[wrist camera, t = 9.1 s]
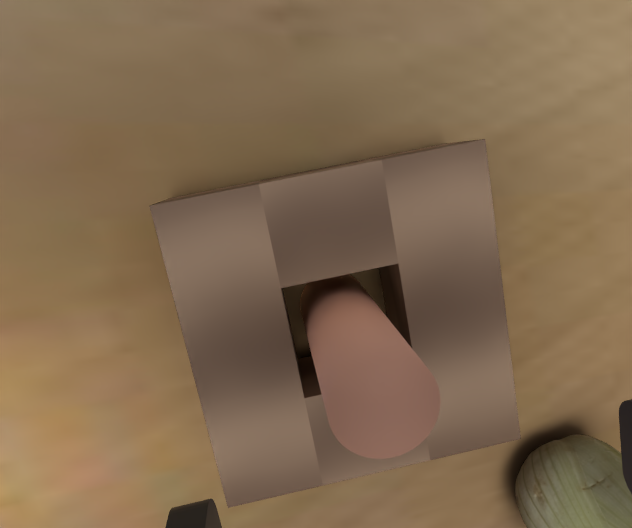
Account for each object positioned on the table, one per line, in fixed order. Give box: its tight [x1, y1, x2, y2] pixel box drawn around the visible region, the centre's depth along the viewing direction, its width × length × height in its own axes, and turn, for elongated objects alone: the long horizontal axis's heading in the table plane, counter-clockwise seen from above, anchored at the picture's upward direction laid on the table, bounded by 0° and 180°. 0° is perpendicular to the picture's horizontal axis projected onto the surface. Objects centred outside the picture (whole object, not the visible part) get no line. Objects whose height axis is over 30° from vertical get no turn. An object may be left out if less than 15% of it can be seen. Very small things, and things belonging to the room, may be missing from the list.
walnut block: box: [150, 139, 521, 508], centre depth 21 cm, size 12×12×4 cm
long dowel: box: [300, 274, 441, 459], centre depth 18 cm, size 3×3×10 cm
